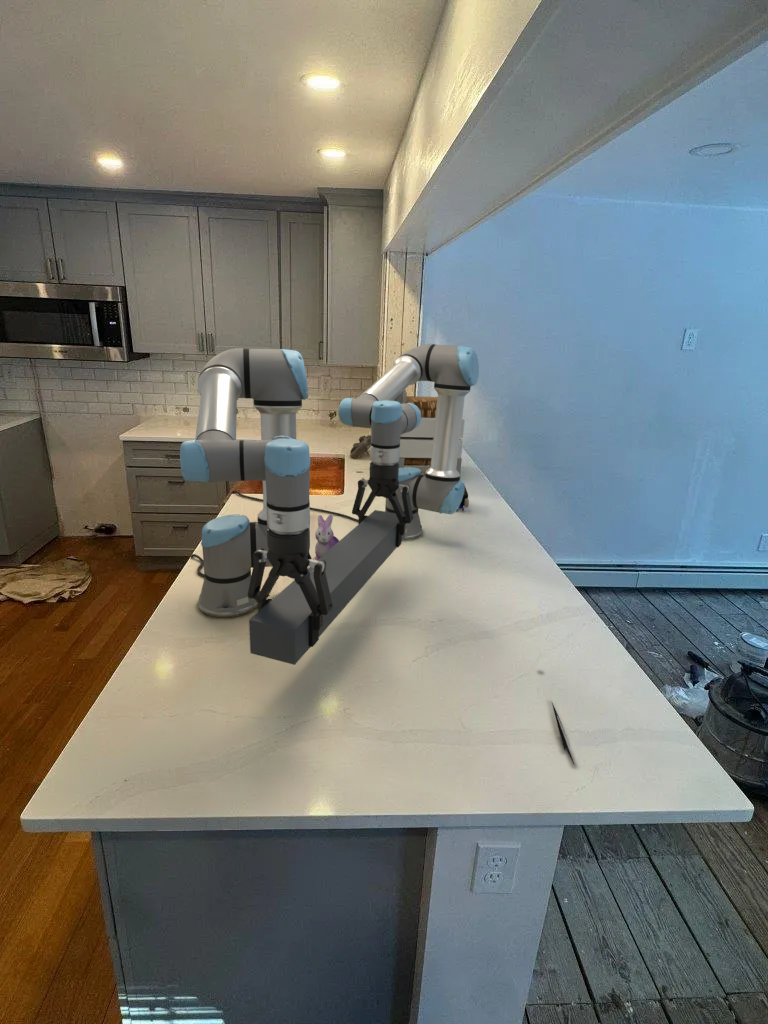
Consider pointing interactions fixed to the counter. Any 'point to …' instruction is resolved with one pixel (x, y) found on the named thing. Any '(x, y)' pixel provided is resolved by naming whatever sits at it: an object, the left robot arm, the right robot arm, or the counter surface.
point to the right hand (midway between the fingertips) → (381, 542)
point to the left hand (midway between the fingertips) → (290, 637)
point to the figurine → (324, 536)
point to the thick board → (347, 571)
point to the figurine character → (464, 500)
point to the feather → (562, 734)
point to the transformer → (422, 434)
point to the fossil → (361, 446)
